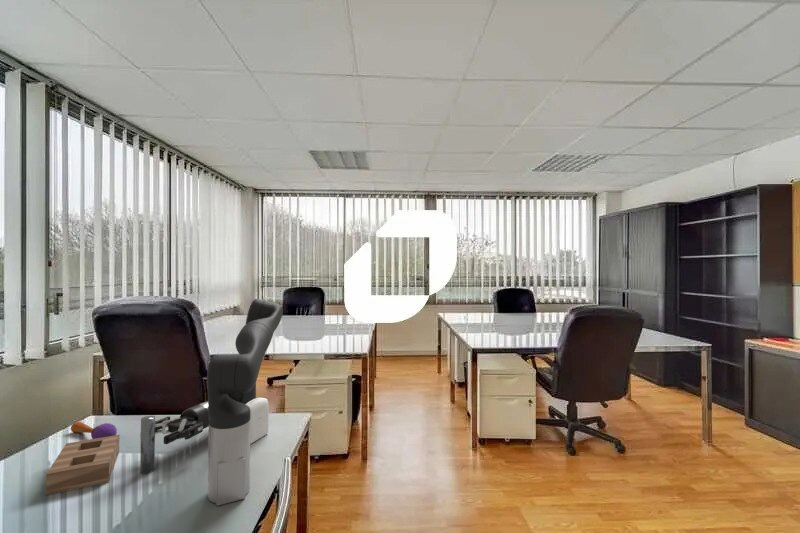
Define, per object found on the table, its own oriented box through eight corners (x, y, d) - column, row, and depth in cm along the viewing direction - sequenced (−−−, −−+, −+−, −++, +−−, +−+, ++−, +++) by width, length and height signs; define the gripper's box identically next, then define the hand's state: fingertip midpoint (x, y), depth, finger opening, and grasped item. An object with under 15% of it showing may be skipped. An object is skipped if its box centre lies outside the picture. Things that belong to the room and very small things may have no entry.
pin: (154, 471, 102) (154, 419, 102) (139, 474, 101) (140, 421, 101) (154, 466, 105) (155, 414, 105) (140, 469, 103) (141, 417, 103)
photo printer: (248, 446, 117) (248, 406, 117) (236, 444, 118) (237, 404, 118) (270, 433, 127) (271, 395, 127) (259, 431, 128) (260, 393, 128)
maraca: (89, 415, 129) (122, 423, 120) (85, 434, 128) (118, 443, 119) (67, 418, 124) (100, 426, 115) (63, 438, 123) (96, 447, 114)
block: (108, 482, 97) (109, 462, 97) (45, 495, 91) (46, 474, 91) (119, 451, 113) (119, 434, 113) (66, 461, 107) (66, 443, 107)
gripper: (184, 401, 122) (133, 420, 106) (219, 407, 117) (173, 428, 102) (183, 425, 122) (133, 447, 106) (219, 432, 117) (172, 456, 102)
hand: (152, 438), depth 104 cm, fingers open, 8 cm apart
